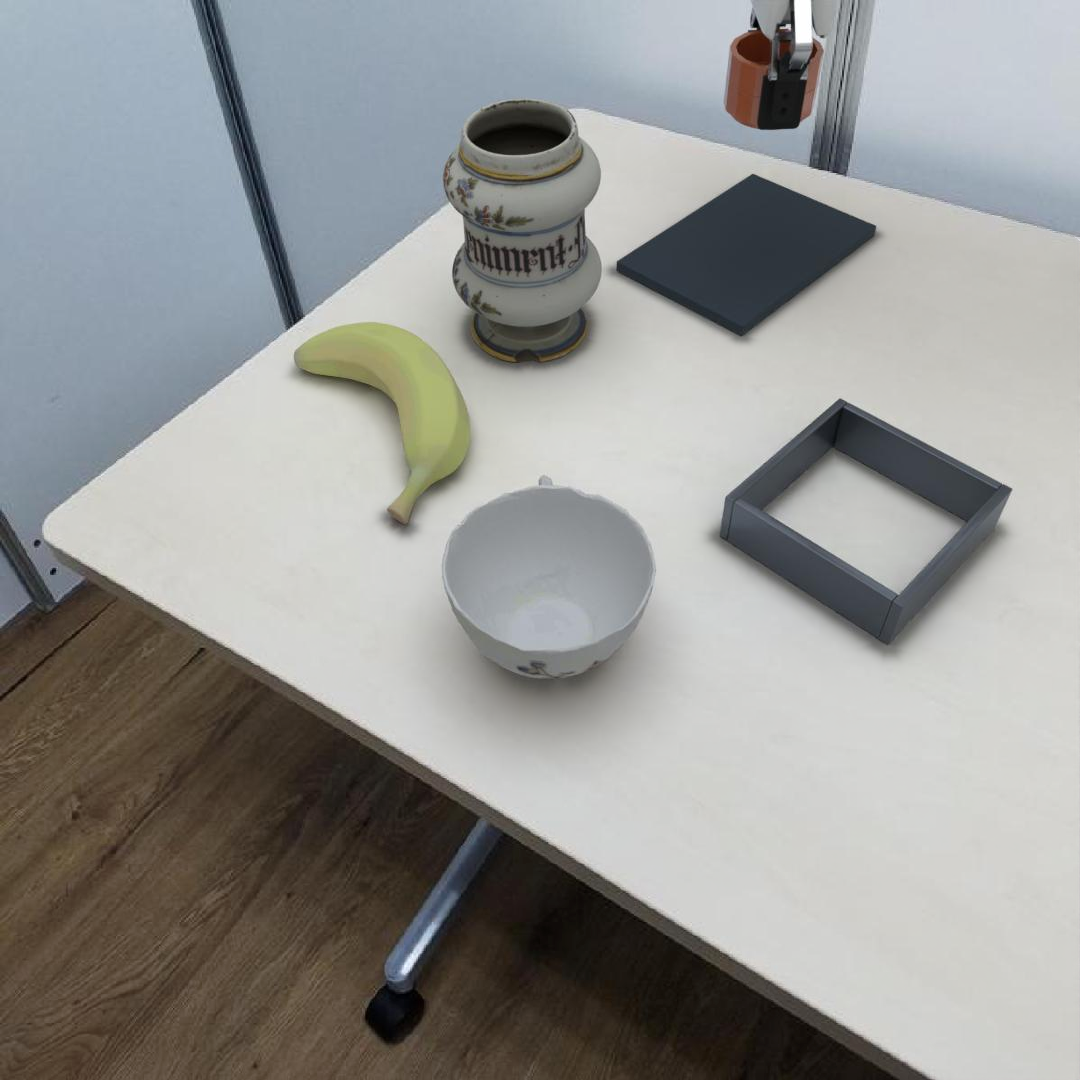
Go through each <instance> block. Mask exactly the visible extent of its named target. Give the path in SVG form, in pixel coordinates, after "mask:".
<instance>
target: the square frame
mask: <svg viewBox="0 0 1080 1080" xmlns="http://www.w3.org/2000/svg"><path fill="white" fill-rule="evenodd" d="M832 448H834V449H837V450H838V451H840V452H842V453H844V454H845V455H847V456H849V457H851V458H853V459H855V460H856V461H858V462H859V463H862V464H863V465H866V466H867V467H869V468H870V469H872V470H874V471H876V472H878V473H879V474H881V475H883V476H885V477H887V478H889V479H890V480H892V481H894V482H896V483H897V484H899V485H902V486H903V487H905V488H906V489H908V490H910V491H912V492H914V493H915V494H917V495H919V496H921V497H923V498H924V499H926V500H928V501H930V502H932V503H933V504H935V505H936V506H939V507H940V508H942V509H944V510H945V511H948V512H950V513H952V514H953V515H955V516H957V517H958V518H961V519H962V520H964V521H966V522H965V524H964V525H963V526H961V528H960V529H959V530H958V531H957V532H956V533H955V535H953V536H952V537H951V538H950V540H948V542H947V543H946V544H945V545H944V546H943V547H942V548H941V549H940V550H939V551H938V552H937V553H936V554H935V555H934V557H932V559H931V560H930V561H929V562H928V563H927V564H926V565H925V566H924V568H922V570H921V571H920V572H919V573H918V574H917V575H916V576H914V578H913V579H912V580H911V581H910V582H909V583H908V584H907V585H906V587H904V589H903V590H902V591H900V593H897V592H895V591H893V590H892V589H891V588H888V587H887V586H885V585H884V584H882V583H881V582H879V581H877V580H875V578H873V577H870V576H869V575H867V574H866V573H864V572H862V571H861V570H860V569H857V568H856V567H855V566H853V565H851V564H849V563H848V562H846V561H845V560H843V559H842V558H840V557H838V556H836V555H835V554H833V553H832V552H830V551H828V550H827V549H825V548H824V547H822V546H820V545H819V544H817V543H815V542H814V541H812V540H811V539H809V538H808V537H806V536H804V535H803V534H801V533H799V532H798V531H796V530H794V529H793V528H791V527H790V526H788V525H786V524H785V523H783V522H781V521H779V520H778V519H777V518H775V517H773V516H772V515H770V514H768V513H767V512H766V511H764V510H763V509H764V508H766V506H767V505H769V504H770V503H771V502H772V501H774V499H776V497H778V496H779V495H780V494H781V493H782V492H783V491H784V490H785V489H787V488H788V487H789V486H790V485H791V484H792V483H793V482H795V480H797V479H798V478H799V477H800V476H801V475H802V474H803V473H805V472H806V471H807V470H808V469H809V468H810V467H811V466H812V465H813V464H814V463H816V462H817V461H818V460H819V459H820V458H821V457H822V456H824V455H825V454H826V453H827V452H828V451H829V450H830V449H832ZM1012 492H1013V488H1012V487H1010V486H1008V485H1006V484H1004V483H1003V482H1000V481H998V480H996V479H995V478H993V477H991V476H989V475H987V474H985V473H984V472H982V471H980V470H978V469H975V468H974V467H972V466H970V465H968V464H966V463H964V462H962V461H960V460H959V459H957V458H955V457H953V456H951V455H949V454H947V453H945V452H943V451H941V450H939V449H938V448H935V447H934V446H932V445H930V444H928V443H926V442H925V441H922V440H920V439H919V438H917V437H915V436H913V435H911V434H909V433H908V432H906V431H903V430H902V429H900V428H898V427H896V426H894V425H892V424H891V423H888V422H886V421H884V419H883V420H882V419H881V418H879V417H877V416H875V415H874V414H871V413H869V412H868V411H866V410H864V409H862V408H860V407H858V406H856V405H854V404H852V403H851V402H848V401H846V400H844V399H843V398H841V397H840V398H838V399H836V401H835V402H834V403H832V404H831V405H830V406H829V407H828V408H827V409H826V410H824V411H823V412H822V413H821V414H820V415H819V416H817V417H816V418H815V419H814V420H813V421H812V422H810V423H809V424H808V425H806V427H804V429H802V430H801V431H800V432H799V433H798V434H797V435H796V436H794V437H793V438H792V439H790V441H788V442H787V443H786V444H785V445H784V446H783V447H782V448H780V449H779V450H778V451H777V452H775V454H773V456H771V457H770V458H769V459H767V460H766V461H765V462H764V463H762V464H761V465H760V466H759V467H758V468H757V469H755V471H754V472H752V473H751V474H750V475H749V476H748V477H746V479H744V480H743V481H742V482H741V483H740V484H739V485H738V486H736V487H735V488H734V489H732V490H731V491H730V492H729V493H728V494H727V495H726V496H725V498H724V505H723V511H722V515H721V516H722V518H721V524H720V531H719V537H720V538H722V539H724V540H725V541H727V542H728V543H730V544H731V545H733V546H734V547H736V548H737V549H739V550H740V551H742V552H744V553H745V554H746V555H748V556H750V557H751V558H753V559H754V560H756V561H757V562H759V563H760V564H762V565H763V566H766V567H767V568H768V569H770V570H772V571H773V572H774V573H776V574H778V575H779V576H781V577H782V578H784V579H785V580H787V581H789V582H790V583H791V584H792V585H795V586H796V587H798V588H799V589H800V590H802V591H804V592H805V593H807V594H808V595H810V596H811V597H813V598H815V599H816V600H818V601H819V602H820V603H822V604H823V605H825V606H827V607H828V608H829V609H832V610H833V611H835V612H836V613H838V614H839V615H841V616H843V617H844V618H846V619H847V620H849V621H850V622H852V623H854V624H855V625H856V626H858V627H859V628H861V629H863V630H864V631H866V632H867V633H869V634H870V635H872V636H873V637H875V638H877V639H878V640H879V641H880V642H882V643H884V644H886V645H887V646H889V645H890V644H891V642H893V641H894V639H895V638H896V637H897V636H898V635H899V634H900V633H901V632H902V631H903V630H904V629H905V627H906V626H907V625H908V624H909V623H910V622H911V621H912V620H913V618H914V617H915V616H916V615H917V614H918V613H919V612H920V611H921V610H922V608H923V607H924V606H925V605H926V604H927V603H928V602H929V601H930V600H931V599H932V598H933V597H934V596H935V595H936V594H937V593H938V591H939V590H940V589H941V588H942V587H943V585H944V584H946V582H947V581H948V580H949V579H950V578H951V577H953V575H954V574H955V573H956V571H957V570H958V569H960V567H961V566H962V565H963V564H964V563H965V562H966V561H967V559H968V558H969V557H970V556H972V554H973V553H974V552H975V550H977V548H979V546H980V545H981V544H982V543H983V542H984V541H985V540H986V538H987V537H988V536H989V535H990V534H991V533H992V532H993V531H995V528H996V526H997V524H998V522H999V520H1000V518H1001V515H1002V513H1003V511H1004V509H1005V507H1006V505H1007V502H1008V501H1009V498H1010V496H1011V494H1012Z"/></svg>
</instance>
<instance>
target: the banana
mask: <svg viewBox="0 0 1080 1080" xmlns="http://www.w3.org/2000/svg"><path fill="white" fill-rule="evenodd" d="M293 362H294V365H295V366H296V367H297V368H299V369H301V370H304V371H305V372H306V371H307V372H309V373H311V374H315V375H322V376H327V377H328V376H329V377H336V378H343V379H349V380H352V381H357V382H360V383H363V384H365V385H369V386H371V387H374V388H375V389H378V390H379V391H381V392H382V393H384V394H385V395H387V397H388V398H390V399H391V400H392V402H394V403H395V406H396V409H397V413H398V417H399V425H400V432H401V438H402V443H403V444H402V446H403V450H404V454H405V458H406V462H407V465H408V467H409V470H410V475H409V478H408V480H407V483H406V486H405V488H404V489H403V491H402V492H401V493H400V495H399V496H398V497H396V499H395V500H394V501H393V502H392V503H391V504H390V505H389V506H388V507H387V508H386V511H387V512H388V513H389V515H390V516H391V517H392V518H393V519H395V520H396V521H398V522H399V523H401V524H403V525H408V523H409V520H410V515H411V513H412V510H413V507H414V506H415V503H416V501H417V500H418V498H419V497H420V496H421V495H422V494H423V493H424V492H425V491H426V490H427V489H428V488H429V487H431V485H433V484H434V483H436V482H438V481H439V480H442V479H444V478H447V477H448V476H449V475H451V474H452V473H454V472H455V471H456V470H457V469H458V468H459V467H460V466H461V464H462V463H463V462H464V459H465V458H466V456H467V453H468V450H469V448H470V444H471V432H472V431H471V421H470V413H469V411H468V407H467V404H466V401H465V399H464V396H463V395H462V393H461V390H460V388H459V386H458V384H457V381H456V380H455V378H454V376H453V375H452V372H451V371H450V369H449V367H448V366H447V364H446V363H445V361H444V360H443V359H442V357H441V356H440V355H439V354H438V352H437V351H436V350H434V348H433V347H431V345H429V344H428V343H427V342H426V341H424V340H423V339H422V338H420V337H419V336H417V335H416V334H414V333H412V332H411V331H409V330H407V329H404V328H402V327H399V326H396V325H393V324H389V323H385V322H384V323H383V322H376V321H366V322H358V323H357V322H356V323H349V324H343V325H339V326H336V327H333V328H330V329H327V330H325V331H323V332H321V333H318V334H316V335H314V336H312V337H310V338H309V339H307V340H306V341H305V342H303V343H302V344H301V345H300V346H299V347H297V348H296V349H295V350H294V352H293Z"/></svg>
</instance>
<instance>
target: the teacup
mask: <svg viewBox="0 0 1080 1080" xmlns="http://www.w3.org/2000/svg"><path fill="white" fill-rule="evenodd" d="M656 566H657V565H656V560H655V553H654V551H653V546H652V543H651V540H649V538H648V535H647V534H646V532H645V530H644V527H643V526H642V525H641V524H640V523H639V521H637V520H636V518H635V517H634V516H633V515H632V514H631V513H630V512H629V511H628V510H627V509H626V508H623V507H622V506H620V505H618V504H617V503H616V502H613V501H612V500H610V499H608V498H607V497H604V496H603V495H600V494H590V493H585V492H583V491H582V490H581V489H577V488H575V487H572V486H566V485H559V484H554V483H553V481H552V478H551V477H549V476H547V475H545V474H543V475H540V477H539V479H538V485H531V486H527V487H523V488H521V489H517V490H514V491H512V492H504V493H503V494H501V495H500V496H498V497H495V498H494V499H492V500H490V501H488V502H486V503H485V504H483V505H479V506H477V507H474V509H473V510H471V511H470V512H468V514H466V515H465V516H464V519H462V521H461V522H460V524H458V525H455V527H454V528H453V530H452V531H451V533H450V534H449V537H448V539H447V542H446V544H445V547H444V552H443V555H442V560H441V578H442V583H443V587H444V590H445V594H446V596H447V600H448V602H449V605H450V608H451V610H452V613H453V614H454V615H455V618H456V620H457V622H458V624H459V625H460V627H461V629H462V630H463V631H464V633H465V634H466V636H467V637H468V639H469V640H470V641H471V642H472V644H473V645H474V646H475V647H476V648H477V649H478V650H479V651H480V652H481V653H482V654H483V655H485V657H487V658H488V659H490V660H491V661H492V662H494V663H495V664H497V665H498V666H500V667H501V668H503V669H506V670H508V671H510V672H512V673H515V674H518V675H520V676H524V677H528V678H533V679H540V680H557V679H565V678H571V677H574V676H577V675H581V674H583V673H586V672H588V671H590V670H592V669H595V668H597V667H598V666H600V665H602V664H603V663H605V662H606V661H607V660H608V659H610V658H611V657H612V656H614V654H616V652H617V651H619V649H620V648H622V647H623V646H624V645H625V643H626V642H628V640H629V639H630V637H631V635H632V634H633V633H634V631H635V629H636V628H637V627H638V625H639V623H640V621H641V619H642V617H643V615H644V614H645V610H646V608H647V607H648V606H647V605H648V602H649V600H650V598H651V595H652V591H653V587H654V584H655V581H656V575H657V567H656Z"/></svg>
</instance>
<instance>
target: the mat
mask: <svg viewBox="0 0 1080 1080" xmlns="http://www.w3.org/2000/svg"><path fill="white" fill-rule="evenodd" d="M876 230H877V225H875V224H873V223H871V222H868V221H866V220H863V219H861V218H859V217H857V216H854V215H852V214H849V213H847V212H845V211H842V210H840V209H837V208H835V207H833V206H831V205H828V204H825V203H823V202H821V201H818V200H816V199H813V198H812V197H809V196H807V195H805V194H802V193H799V192H797V191H795V190H793V189H791V188H788V187H786V186H783V185H781V184H778V183H776V182H774V181H771V180H770V179H767V178H764V177H762V176H759V175H757V174H754V173H751V174H750V175H748V176H747V177H745V178H744V179H742V180H741V181H739V182H738V183H736V184H734V185H733V186H731V187H730V188H728V189H727V190H725V191H724V192H722V193H720V194H718V196H715V197H714V198H713V199H711V200H709V201H708V202H706V203H705V204H703V205H702V206H700V207H698V208H697V209H696V210H694V211H693V212H691V213H689V214H688V215H686V216H685V217H683V218H682V219H680V220H678V221H677V222H676V223H673V225H672V224H671V226H669V227H668V228H665V230H663V231H661V232H660V233H658V234H657V235H655V236H654V237H652V238H651V239H649V240H648V241H646V242H644V243H643V244H640V246H638V247H637V248H635V249H634V250H632V251H630V252H629V253H628V254H626V255H625V256H623V257H621V258H620V259H618V260H617V261H616V266H615V267H616V272H617V273H620V274H622V275H624V276H626V277H627V278H630V279H631V280H633V281H635V282H637V283H639V284H641V285H643V286H645V287H646V288H649V289H650V290H652V291H654V292H656V293H658V294H660V295H662V296H664V297H666V298H668V299H669V300H672V301H674V302H675V303H677V304H679V305H681V306H683V307H684V308H687V309H689V310H691V311H693V312H694V313H696V314H698V315H700V316H702V317H704V318H706V319H708V320H710V321H713V322H714V323H716V324H717V325H719V326H721V327H724V328H725V329H726V330H729V331H731V332H732V333H735V334H736V335H739V336H740V337H742V336H744V335H745V334H746V333H748V332H749V331H750V330H751V329H753V328H754V327H755V326H757V325H758V324H759V323H760V322H762V321H764V319H766V318H767V317H769V316H771V314H773V313H774V312H776V310H778V309H779V308H781V307H782V306H784V304H786V303H787V302H788V301H790V300H791V299H792V298H794V297H795V296H796V295H798V294H800V292H802V291H803V290H805V288H807V287H808V286H810V285H812V283H813V282H815V281H816V280H818V279H819V278H820V277H822V276H823V275H825V273H827V272H828V271H829V270H830V269H832V268H833V267H835V266H836V265H837V264H839V263H840V262H841V261H842V260H844V259H846V257H848V256H849V255H851V254H852V253H853V252H855V251H856V250H858V248H860V247H861V246H863V245H864V244H865V243H867V242H868V241H869V240H870V239H872V238H873V237H874V236H875V235H876V232H877V231H876Z"/></svg>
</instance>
